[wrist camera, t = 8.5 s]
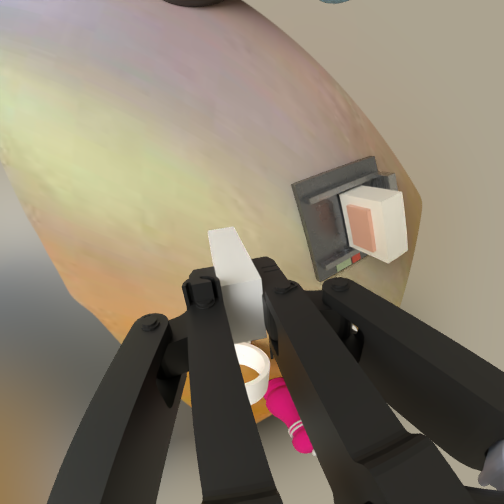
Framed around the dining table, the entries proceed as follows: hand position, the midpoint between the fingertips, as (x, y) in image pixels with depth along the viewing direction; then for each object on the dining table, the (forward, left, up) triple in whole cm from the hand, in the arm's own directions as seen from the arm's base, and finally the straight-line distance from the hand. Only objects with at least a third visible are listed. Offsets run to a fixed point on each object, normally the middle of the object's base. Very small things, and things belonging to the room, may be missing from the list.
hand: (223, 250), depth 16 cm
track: (+12, +25, -24) cm, 37 cm away
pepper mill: (+42, +1, -24) cm, 49 cm away
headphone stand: (+27, -2, -24) cm, 36 cm away
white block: (+12, +26, -22) cm, 36 cm away
